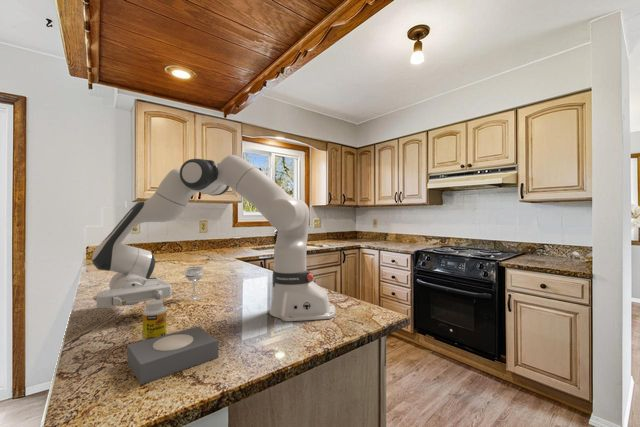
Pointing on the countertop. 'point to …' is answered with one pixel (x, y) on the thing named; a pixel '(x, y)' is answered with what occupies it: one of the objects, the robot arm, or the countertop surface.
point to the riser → (170, 353)
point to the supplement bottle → (154, 320)
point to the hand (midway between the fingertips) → (141, 300)
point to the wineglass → (194, 277)
